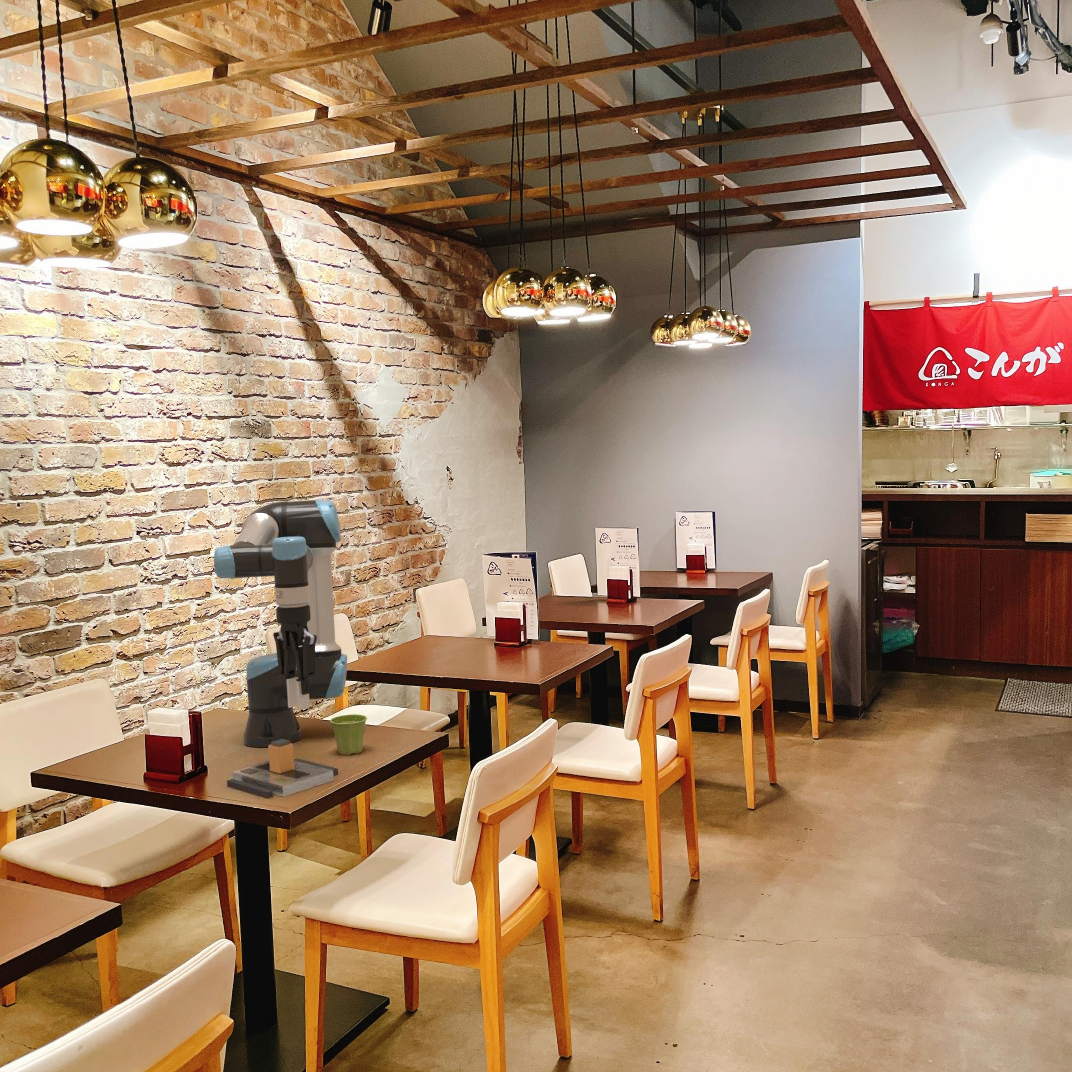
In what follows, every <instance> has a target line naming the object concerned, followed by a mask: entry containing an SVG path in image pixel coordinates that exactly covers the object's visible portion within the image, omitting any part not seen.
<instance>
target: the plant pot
mask: <svg viewBox="0 0 1072 1072" xmlns="http://www.w3.org/2000/svg"><path fill="white" fill-rule="evenodd" d="M367 720H368V717H367V716H366V715H364V714H357V713H355V714H352V713H351V714H342V715H338V716H335V717H332V718H330V719H329V722H330V724H331V726H332V728H333V732H334V733H333V734H334V737H335V743H336V747H337V753H339V755H342V756H344V755H345V756H349V755H352V754H356V755H357V754H359V753H362V751H363V747H364V746H363V744H364V733H365V725H366V721H367Z"/></svg>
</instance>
